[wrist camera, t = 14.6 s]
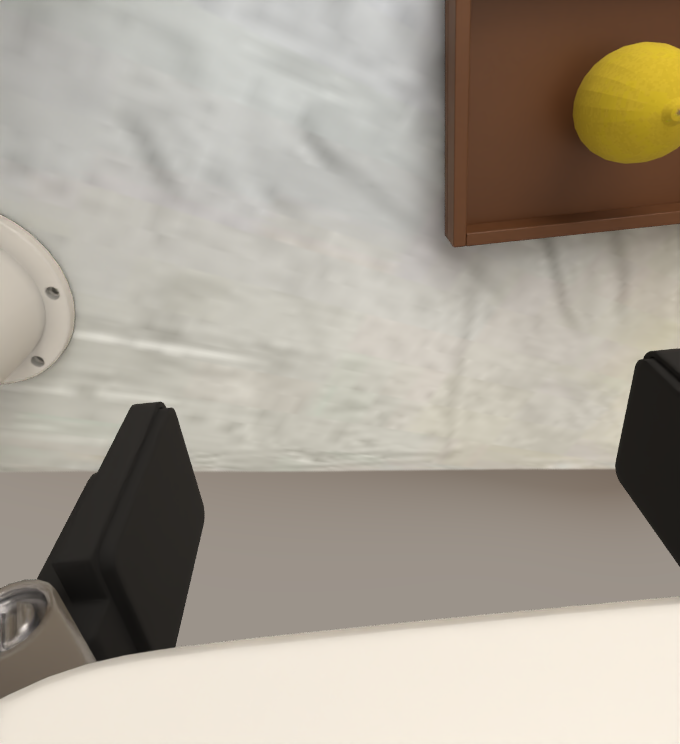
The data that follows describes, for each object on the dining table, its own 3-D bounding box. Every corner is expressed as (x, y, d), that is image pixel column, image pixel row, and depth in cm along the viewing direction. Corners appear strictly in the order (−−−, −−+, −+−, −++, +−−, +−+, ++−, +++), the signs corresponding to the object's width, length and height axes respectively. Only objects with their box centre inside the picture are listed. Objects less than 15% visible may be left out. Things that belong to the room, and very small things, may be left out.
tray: (444, 235, 36) (453, 247, 34) (444, -41, 29) (456, -48, 27) (714, 206, 36) (741, 217, 34) (785, -79, 29) (825, -90, 26)
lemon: (667, 95, 32) (765, 109, 25) (586, 170, 34) (656, 201, 27) (615, 17, 30) (706, 8, 23) (532, 101, 32) (593, 116, 25)
